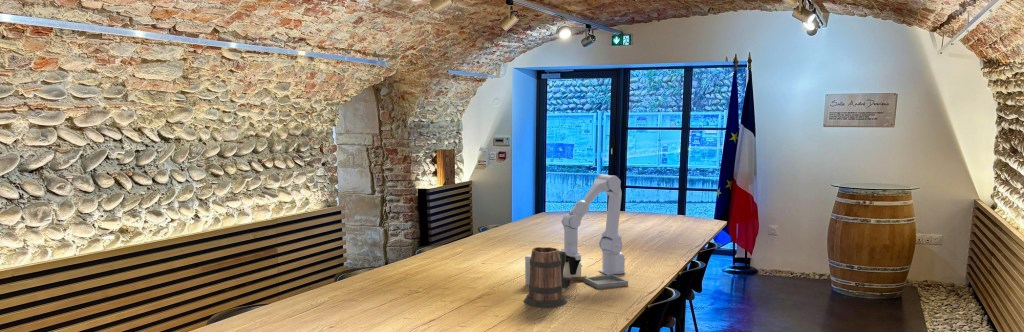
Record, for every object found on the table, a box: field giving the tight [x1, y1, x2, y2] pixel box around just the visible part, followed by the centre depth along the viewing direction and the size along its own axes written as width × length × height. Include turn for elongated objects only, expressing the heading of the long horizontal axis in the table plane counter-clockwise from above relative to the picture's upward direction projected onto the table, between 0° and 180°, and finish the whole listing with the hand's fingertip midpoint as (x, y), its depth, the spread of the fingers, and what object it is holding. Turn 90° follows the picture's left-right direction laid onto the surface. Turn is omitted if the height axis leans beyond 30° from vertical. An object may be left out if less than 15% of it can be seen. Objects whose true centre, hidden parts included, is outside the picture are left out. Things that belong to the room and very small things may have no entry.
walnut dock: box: [570, 275, 588, 284], centre depth 277 cm, size 10×12×2 cm
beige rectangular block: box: [563, 262, 583, 278], centre depth 278 cm, size 9×4×7 cm, turn 112°
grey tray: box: [583, 274, 629, 290], centre depth 269 cm, size 14×12×2 cm
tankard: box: [522, 246, 572, 309], centre depth 246 cm, size 24×17×20 cm
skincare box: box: [524, 254, 531, 286], centre depth 268 cm, size 6×4×12 cm
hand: (570, 273), depth 277 cm, fingers open, 4 cm apart
